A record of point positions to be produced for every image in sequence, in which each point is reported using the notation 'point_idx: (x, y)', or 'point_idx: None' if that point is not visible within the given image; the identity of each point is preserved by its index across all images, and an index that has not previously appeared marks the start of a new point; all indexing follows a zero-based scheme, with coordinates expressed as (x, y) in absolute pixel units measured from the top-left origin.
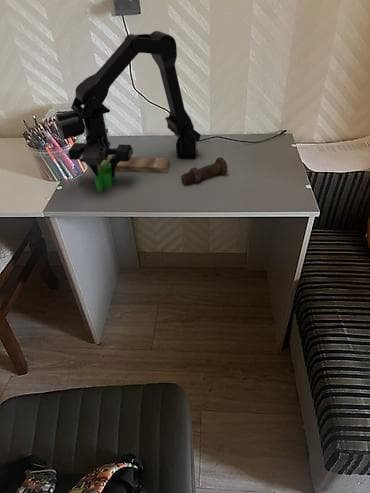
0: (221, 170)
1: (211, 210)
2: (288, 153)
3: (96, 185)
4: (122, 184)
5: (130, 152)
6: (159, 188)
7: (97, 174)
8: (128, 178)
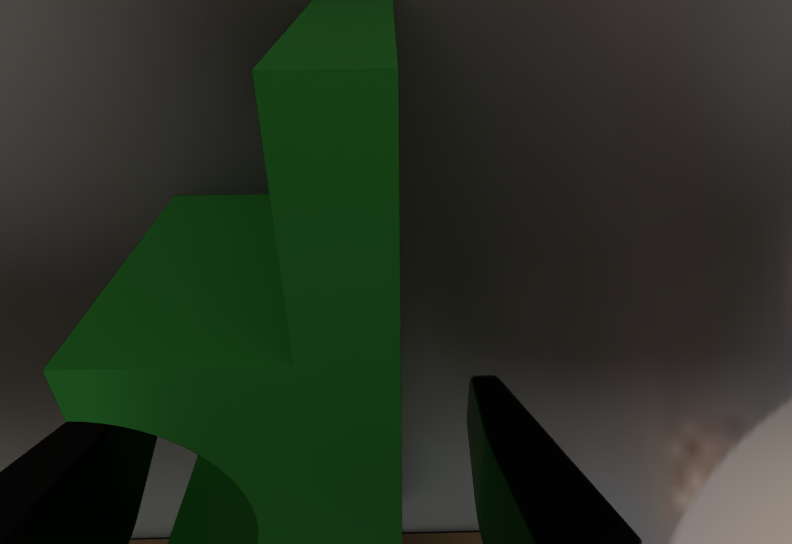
0: None
1: None
2: None
3: (379, 27)
4: (28, 285)
5: None
6: None
7: (474, 417)
8: (41, 425)
